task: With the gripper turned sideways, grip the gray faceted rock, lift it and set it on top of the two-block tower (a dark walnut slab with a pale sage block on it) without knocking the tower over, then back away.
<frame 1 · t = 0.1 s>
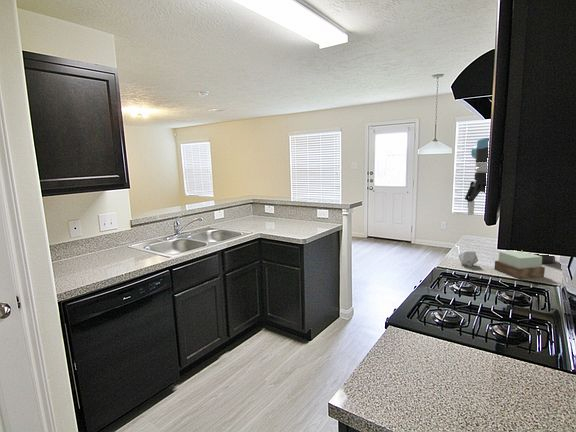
hand: (480, 216, 154), 28 cm above the countertop, tool pointing down, fingers open, 13 cm apart
tower top: (519, 264, 158), point 5 cm above the countertop, touching tower base
gray faceted rock: (467, 265, 172), on the countertop
tower base: (518, 273, 158), on the countertop, touching tower top
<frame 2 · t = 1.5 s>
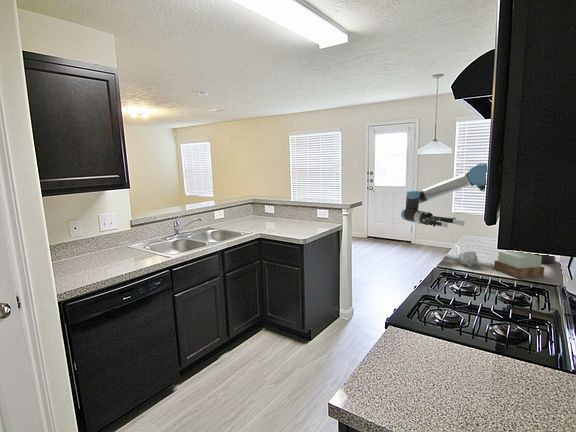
hand: (455, 224, 176), 21 cm above the countertop, tool horizontal, fingers open, 13 cm apart
tower top: (518, 263, 158), point 5 cm above the countertop
tower base: (517, 273, 159), on the countertop
everything else where it was.
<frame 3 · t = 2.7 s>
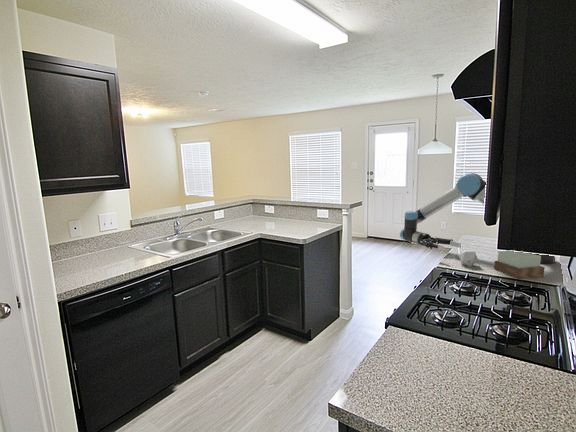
hand: (452, 246, 179), 8 cm above the countertop, tool horizontal, fingers open, 13 cm apart
nothing on the countertop moved.
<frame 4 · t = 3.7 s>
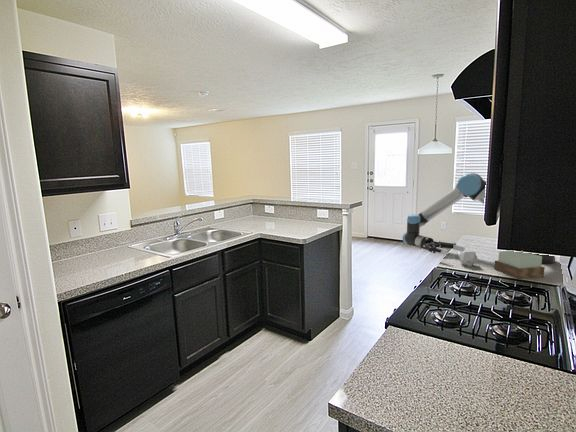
hand: (455, 251, 177), 6 cm above the countertop, tool horizontal, fingers open, 13 cm apart
nothing on the countertop moved.
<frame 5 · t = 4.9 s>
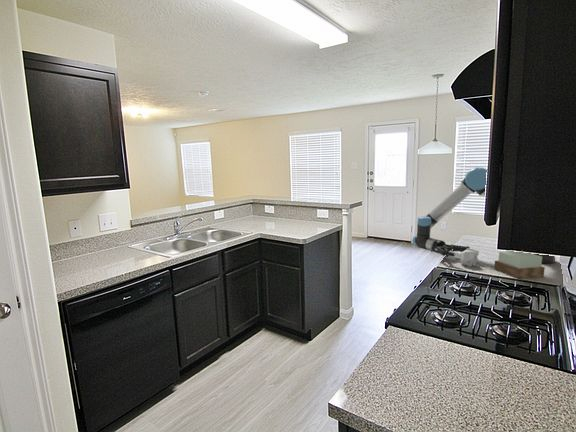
hand: (469, 254, 170), 6 cm above the countertop, tool horizontal, fingers open, 13 cm apart
tower top: (519, 264, 158), point 5 cm above the countertop, touching tower base
tower base: (517, 273, 158), on the countertop, touching tower top
everything else where it was.
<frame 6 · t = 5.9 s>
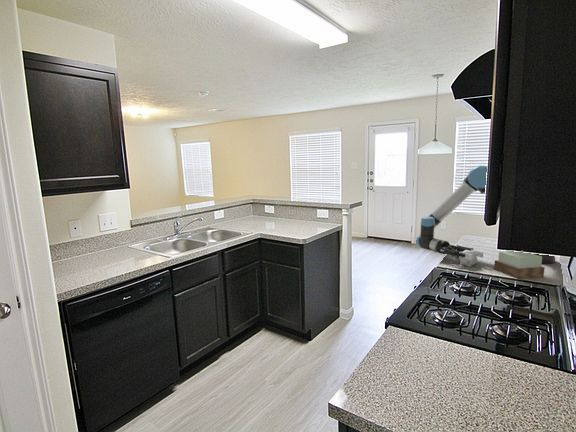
hand: (477, 256, 166), 6 cm above the countertop, tool horizontal, fingers closed on gray faceted rock, 8 cm apart
gray faceted rock: (467, 265, 171), on the countertop, touching gripper
everything else where it was.
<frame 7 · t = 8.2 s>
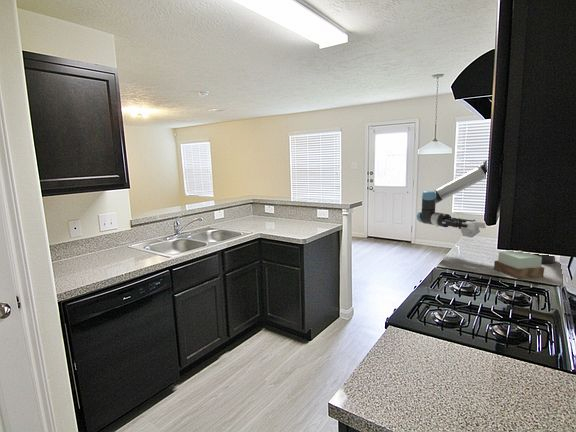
hand: (479, 226, 164), 22 cm above the countertop, tool horizontal, fingers closed on gray faceted rock, 8 cm apart
gray faceted rock: (469, 236, 169), point 15 cm above the countertop, touching gripper
everything else where it was.
when the fingers open (17 cm above the countertop, at t = 11.9 s): gray faceted rock drops 2 cm, resting on tower top.
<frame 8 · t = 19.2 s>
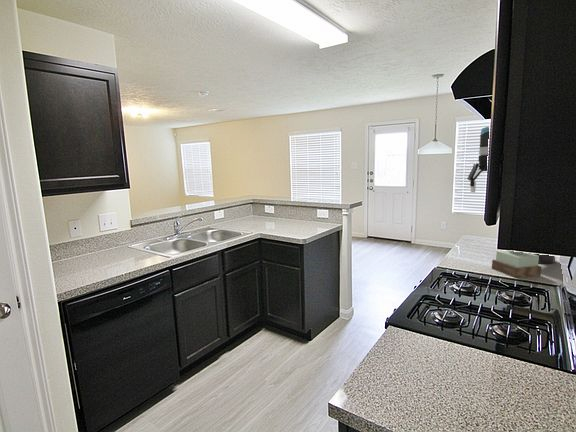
hand: (483, 192, 188), 37 cm above the countertop, tool pointing down, fingers open, 13 cm apart
tower top: (516, 263, 159), point 4 cm above the countertop, touching gray faceted rock, tower base
gray faceted rock: (516, 253, 159), point 9 cm above the countertop, touching tower top
tower base: (515, 272, 160), on the countertop, touching tower top
at the end: gray faceted rock inside the target area on the tower top (0.4 cm from its centre), point 4.9 cm above the tower top's base; tower top 0.1 cm off-centre on the tower base, point 5.0 cm above the tower base's base; the gripper is holding nothing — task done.
